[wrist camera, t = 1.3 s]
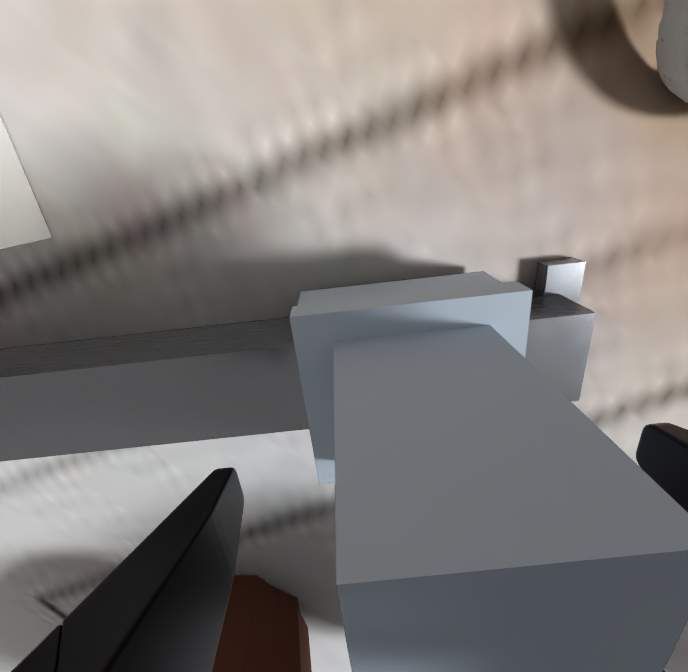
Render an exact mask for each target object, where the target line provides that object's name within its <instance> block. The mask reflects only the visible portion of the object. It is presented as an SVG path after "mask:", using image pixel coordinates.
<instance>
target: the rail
mask: <svg viewBox="0 0 688 672" xmlns="http://www.w3.org/2000/svg"><path fill="white" fill-rule="evenodd" d="M585 264H586V262H585V261H582V260H579V259H576V258H568V259H559V260H550V261H541V262H538V270H537V279H536V287H535V290H534V291H533V292H532V301H531V310H530V319H529V327H528V336H527V345H526V354H525V359H526V360H527V361H529V362H530V363H531V364H532V365H533V366H534V367H535V368H536V369H537V370H538V371H539V372H540V373H541V374H542V375H543V376H544V377H545V378H546V379H547V380H549V381H550V382H551V383H552V384H553V385H554V386H555V387H556V388H557V389H558V390H559V391H560V392H561V393H562V394H563V395H564V396H565V397H566V398H568V399H569V400H570V401H578V400H579V397H580V392H581V387H582V382H583V377H584V371H585V366H586V361H587V356H588V351H589V345H590V340H591V335H592V330H593V325H594V320H595V314H596V313H595V312H593V311H591V310H589V309H587V308H585V307H583V306H582V305H580V304H579V299H580V293H581V287H582V281H583V276H584V270H585ZM303 429H309V424H308V418H307V413H306V407H305V402H304V396H303V390H302V385H301V379H300V374H299V368H298V362H297V357H296V351H295V346H294V340H293V334H292V329H291V323H290V318H289V317H288V318H279V319H269V320H260V321H251V322H242V323H233V324H224V325H215V326H206V327H197V328H187V329H178V330H169V331H160V332H151V333H142V334H133V335H124V336H115V337H105V338H96V339H87V340H78V341H69V342H60V343H51V344H42V345H33V346H23V347H14V348H5V349H0V461H9V460H18V459H28V458H37V457H47V456H56V455H66V454H75V453H85V452H94V451H104V450H113V449H123V448H132V447H142V446H151V445H161V444H170V443H179V442H189V441H198V440H208V439H217V438H227V437H236V436H246V435H255V434H265V433H274V432H284V431H293V430H303Z"/></svg>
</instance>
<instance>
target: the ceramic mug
mask: <svg viewBox="0 0 688 672" xmlns="http://www.w3.org/2000/svg"><path fill="white" fill-rule="evenodd" d="M656 58H657V67H658V71H659V75H660V77H661V79H662V81H663V82H664V84H665V85H666V87H667V88H668V89H669V91H671V92H672V93H673V94H675V95H676V96H678V97H679V98H680V99H682V100H683V101H684V102H686V103H688V0H665V5H664V10H663V17H662V19H661V22H660V24H659V33H658V40H657V42H656Z"/></svg>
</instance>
